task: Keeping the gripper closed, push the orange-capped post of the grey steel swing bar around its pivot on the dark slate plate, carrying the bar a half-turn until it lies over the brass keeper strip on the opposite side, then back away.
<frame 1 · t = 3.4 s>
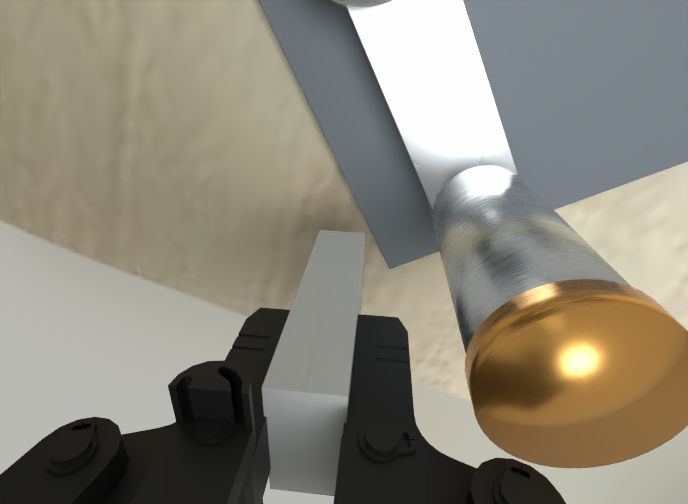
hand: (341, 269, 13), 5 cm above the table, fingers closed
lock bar: (441, 79, 9), point 6 cm above the table, hinge at 0.7°, touching gripper
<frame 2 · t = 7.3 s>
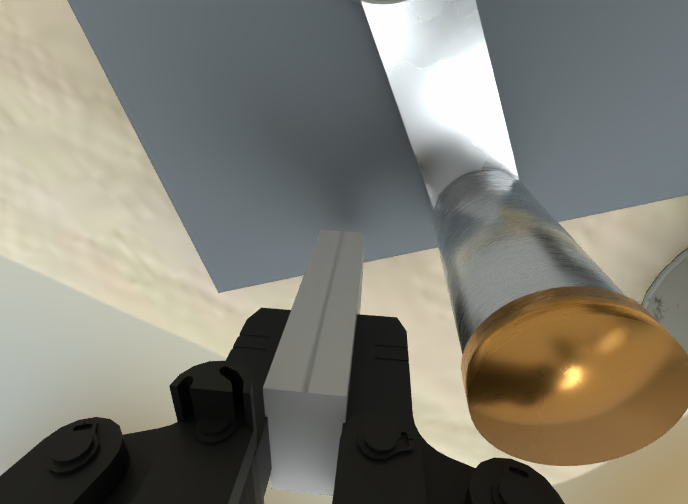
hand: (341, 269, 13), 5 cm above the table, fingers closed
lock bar: (452, 82, 9), point 6 cm above the table, hinge at 96.6°, touching gripper
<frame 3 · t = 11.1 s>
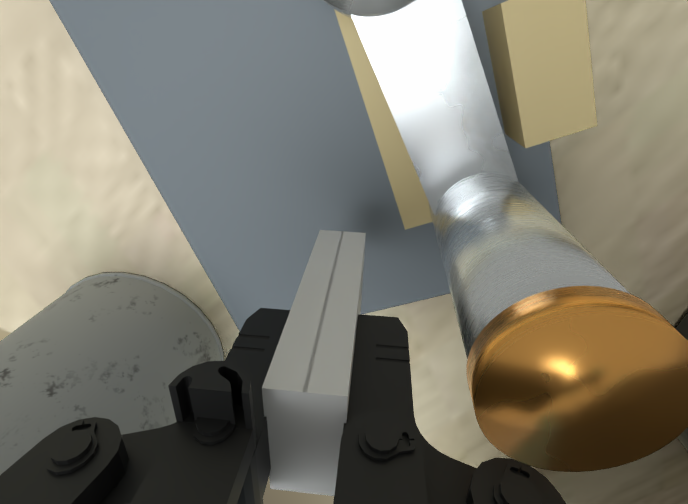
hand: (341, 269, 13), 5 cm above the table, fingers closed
grey cylinder: (143, 343, 22), on the table
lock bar: (444, 89, 9), point 6 cm above the table, hinge at 186.1°, touching gripper
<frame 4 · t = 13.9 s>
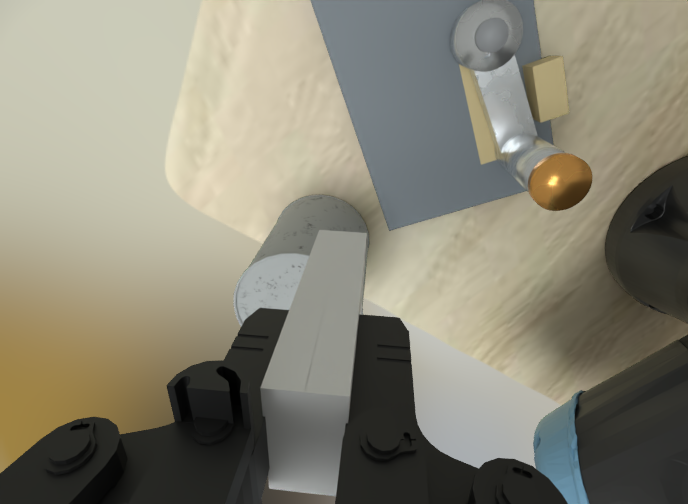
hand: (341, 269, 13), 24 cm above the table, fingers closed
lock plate: (476, 37, 31), on the table
grey cylinder: (321, 239, 40), on the table
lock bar: (515, 99, 26), point 6 cm above the table, hinge at 186.3°
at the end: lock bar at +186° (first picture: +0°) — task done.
